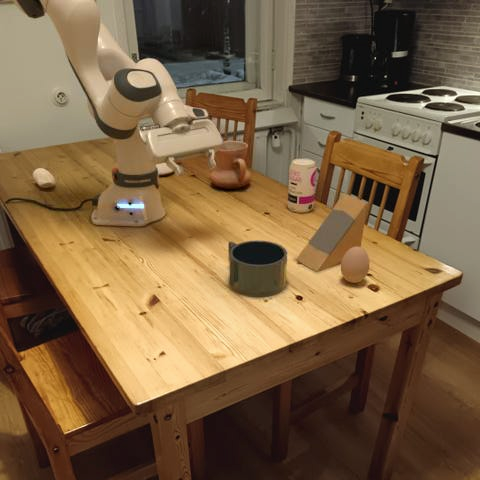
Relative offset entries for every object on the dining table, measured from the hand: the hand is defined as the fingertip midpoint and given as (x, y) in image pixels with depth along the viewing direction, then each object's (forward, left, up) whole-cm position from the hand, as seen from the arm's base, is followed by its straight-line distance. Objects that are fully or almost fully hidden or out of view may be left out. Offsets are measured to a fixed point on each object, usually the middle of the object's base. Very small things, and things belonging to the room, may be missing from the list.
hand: (197, 171), depth 123 cm
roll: (-52, +57, -22) cm, 80 cm away
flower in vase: (-12, +70, -22) cm, 74 cm away
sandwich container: (+33, -7, -22) cm, 40 cm away
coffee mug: (+12, -17, -22) cm, 30 cm away
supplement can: (+33, +28, -22) cm, 48 cm away
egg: (+36, -20, -22) cm, 47 cm away
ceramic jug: (+13, +52, -22) cm, 57 cm away
